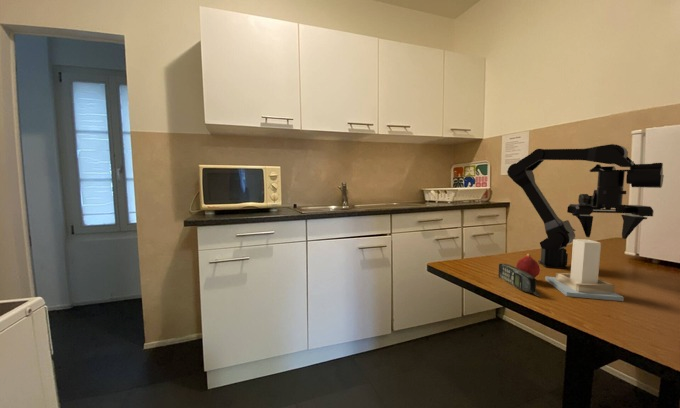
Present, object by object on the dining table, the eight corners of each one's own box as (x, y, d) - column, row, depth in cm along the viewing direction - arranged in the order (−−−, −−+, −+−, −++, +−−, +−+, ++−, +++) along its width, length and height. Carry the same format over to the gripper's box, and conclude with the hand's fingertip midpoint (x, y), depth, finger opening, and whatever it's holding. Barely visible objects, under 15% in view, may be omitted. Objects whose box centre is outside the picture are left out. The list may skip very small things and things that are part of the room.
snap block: (569, 283, 78) (573, 239, 77) (585, 283, 78) (588, 239, 76) (581, 288, 74) (584, 242, 73) (597, 289, 74) (601, 242, 72)
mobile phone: (496, 262, 86) (533, 278, 71) (506, 262, 86) (544, 278, 71) (496, 278, 86) (532, 297, 71) (505, 277, 86) (543, 297, 71)
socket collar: (555, 279, 80) (556, 273, 80) (587, 280, 80) (587, 273, 79) (578, 291, 72) (578, 284, 72) (614, 293, 71) (614, 285, 71)
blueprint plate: (566, 296, 72) (566, 292, 72) (545, 279, 83) (545, 276, 83) (623, 301, 69) (623, 297, 69) (593, 283, 80) (593, 280, 80)
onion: (542, 284, 79) (544, 257, 79) (520, 283, 81) (522, 256, 80) (533, 277, 85) (534, 252, 84) (512, 276, 86) (513, 251, 85)
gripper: (628, 186, 89) (623, 234, 90) (560, 186, 94) (557, 231, 95) (657, 187, 78) (652, 241, 80) (579, 187, 83) (575, 238, 85)
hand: (605, 237), depth 85 cm, fingers open, 9 cm apart
